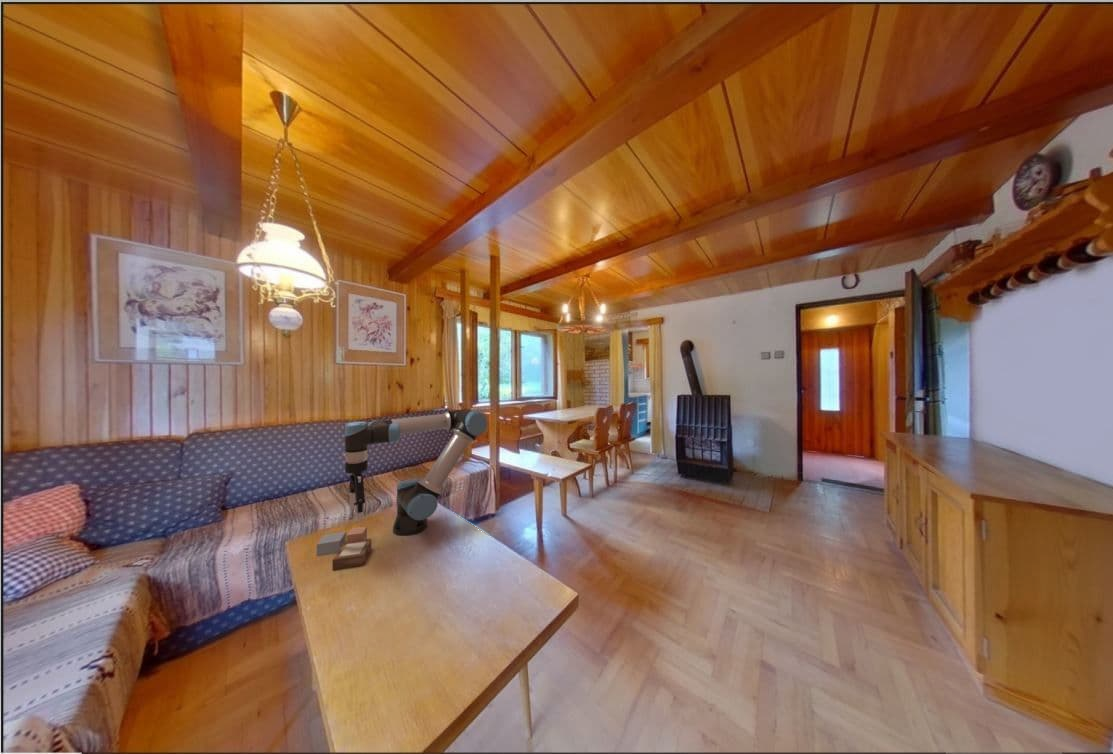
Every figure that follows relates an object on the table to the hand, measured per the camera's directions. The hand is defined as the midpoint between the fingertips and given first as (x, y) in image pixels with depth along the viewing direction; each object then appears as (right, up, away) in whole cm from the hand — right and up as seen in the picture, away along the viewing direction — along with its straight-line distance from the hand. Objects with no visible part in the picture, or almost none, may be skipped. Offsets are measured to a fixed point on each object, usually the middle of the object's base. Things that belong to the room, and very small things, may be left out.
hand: (356, 514), depth 123 cm
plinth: (-2, -18, 0) cm, 18 cm away
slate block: (-15, -18, +8) cm, 25 cm away
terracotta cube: (-7, -18, +11) cm, 23 cm away
